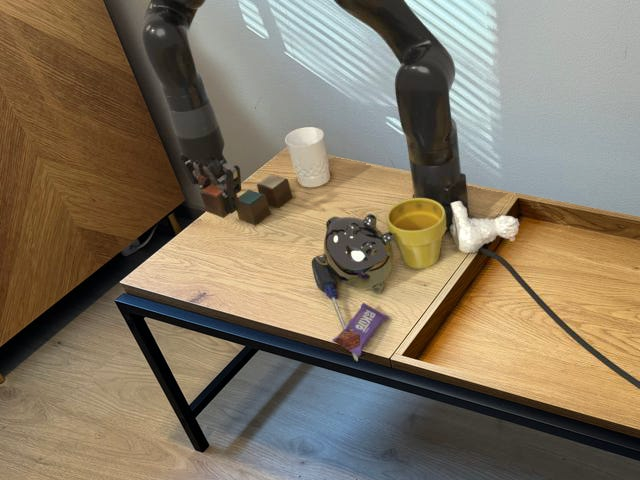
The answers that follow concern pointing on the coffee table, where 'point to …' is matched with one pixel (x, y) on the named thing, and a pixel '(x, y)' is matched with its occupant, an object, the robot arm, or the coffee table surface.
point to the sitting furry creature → (479, 229)
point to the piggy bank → (358, 252)
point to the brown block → (275, 190)
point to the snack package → (360, 329)
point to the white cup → (309, 156)
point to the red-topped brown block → (215, 200)
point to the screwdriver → (328, 287)
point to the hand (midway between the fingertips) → (223, 207)
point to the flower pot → (418, 230)
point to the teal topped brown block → (253, 207)
